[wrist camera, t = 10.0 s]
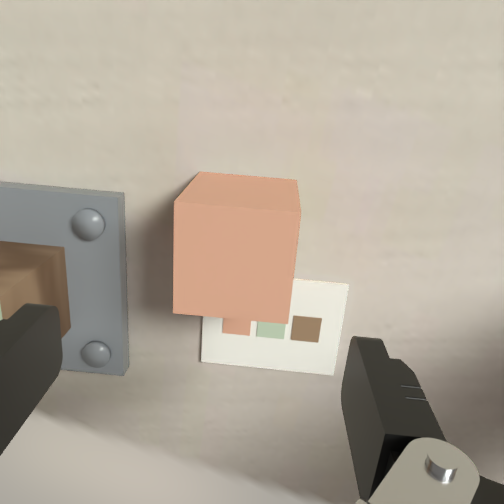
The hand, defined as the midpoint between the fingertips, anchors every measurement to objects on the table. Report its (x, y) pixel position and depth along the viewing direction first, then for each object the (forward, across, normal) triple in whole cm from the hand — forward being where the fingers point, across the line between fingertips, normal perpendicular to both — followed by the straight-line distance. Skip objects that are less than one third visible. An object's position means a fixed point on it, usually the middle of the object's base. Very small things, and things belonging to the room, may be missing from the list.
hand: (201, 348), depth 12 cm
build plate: (+13, +12, +5) cm, 18 cm away
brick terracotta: (+12, 0, 0) cm, 13 cm away
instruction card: (+12, -2, +6) cm, 14 cm away
